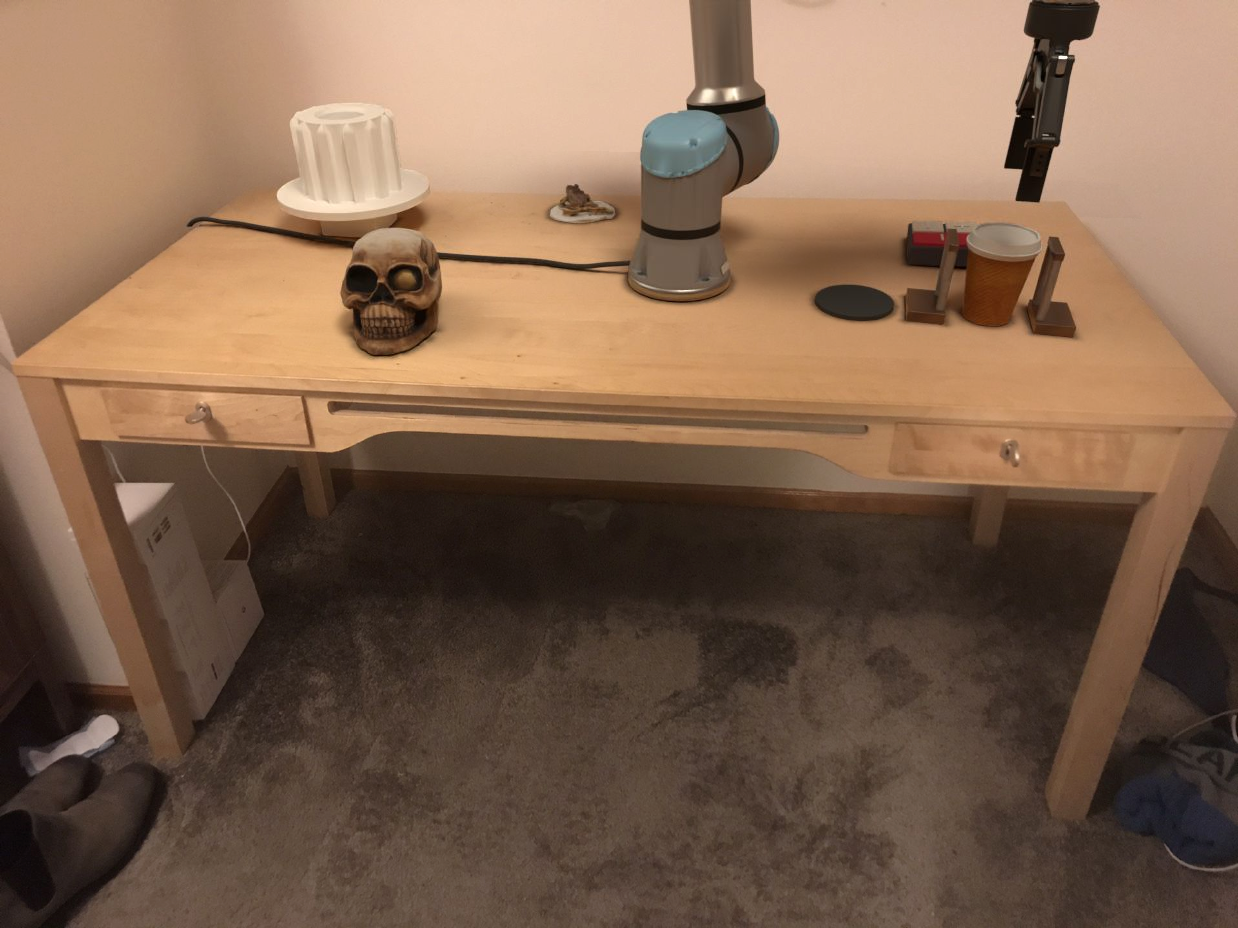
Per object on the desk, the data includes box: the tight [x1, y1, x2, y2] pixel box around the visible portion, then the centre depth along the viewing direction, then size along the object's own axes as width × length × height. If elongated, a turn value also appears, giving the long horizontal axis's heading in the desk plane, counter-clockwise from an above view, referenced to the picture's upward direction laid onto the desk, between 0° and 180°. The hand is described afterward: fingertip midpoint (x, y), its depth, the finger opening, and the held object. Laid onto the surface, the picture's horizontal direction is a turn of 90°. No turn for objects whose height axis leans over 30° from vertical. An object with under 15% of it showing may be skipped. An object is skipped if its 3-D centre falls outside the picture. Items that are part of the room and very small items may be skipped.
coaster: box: [814, 283, 895, 321], centre depth 129 cm, size 11×11×1 cm
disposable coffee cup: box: [961, 221, 1044, 327], centre depth 122 cm, size 10×10×12 cm
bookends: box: [905, 229, 1077, 338], centre depth 122 cm, size 22×8×11 cm, turn 76°
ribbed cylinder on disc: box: [276, 101, 431, 239], centre depth 150 cm, size 25×25×19 cm
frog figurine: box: [549, 183, 616, 224], centre depth 160 cm, size 12×12×4 cm
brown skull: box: [339, 227, 443, 356], centre depth 122 cm, size 16×17×13 cm
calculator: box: [906, 220, 978, 268], centre depth 142 cm, size 11×4×15 cm
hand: (1020, 184), depth 115 cm, fingers open, 13 cm apart
